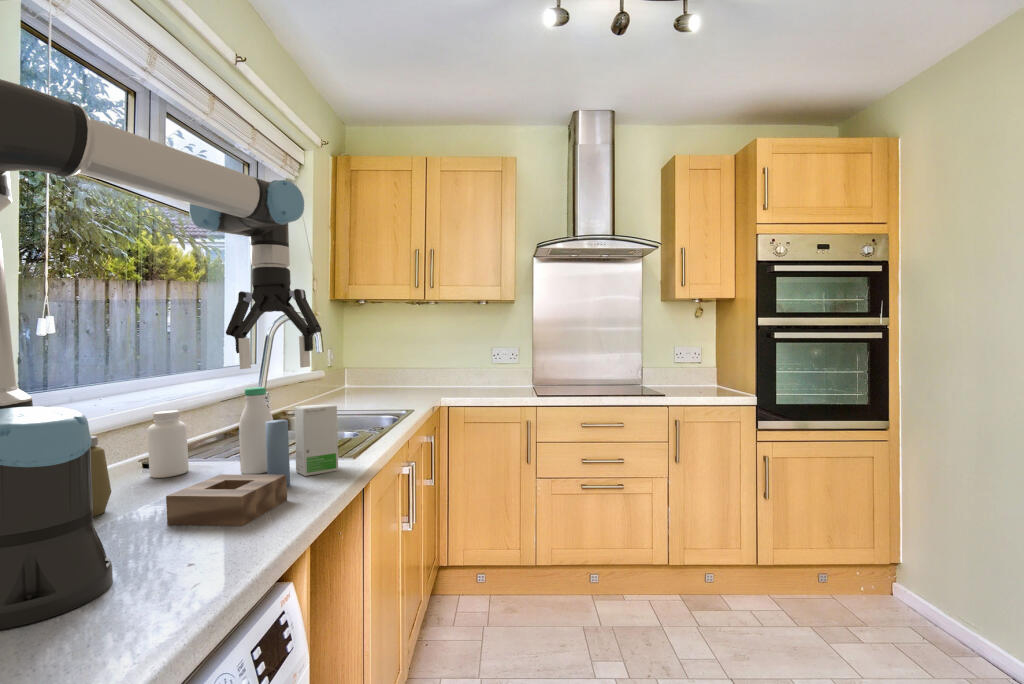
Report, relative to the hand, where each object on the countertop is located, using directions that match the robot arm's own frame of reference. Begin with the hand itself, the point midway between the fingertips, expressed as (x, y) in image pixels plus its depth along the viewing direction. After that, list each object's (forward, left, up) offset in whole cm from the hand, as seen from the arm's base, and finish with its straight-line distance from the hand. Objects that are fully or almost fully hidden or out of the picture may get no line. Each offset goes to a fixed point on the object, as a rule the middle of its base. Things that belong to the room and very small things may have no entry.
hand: (275, 368), depth 115 cm
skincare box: (+13, -2, -26) cm, 29 cm away
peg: (0, 0, -25) cm, 25 cm away
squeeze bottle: (-19, +27, -26) cm, 42 cm away
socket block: (-16, 0, -25) cm, 30 cm away
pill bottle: (+10, +34, -26) cm, 44 cm away
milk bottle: (+13, +13, -26) cm, 31 cm away
